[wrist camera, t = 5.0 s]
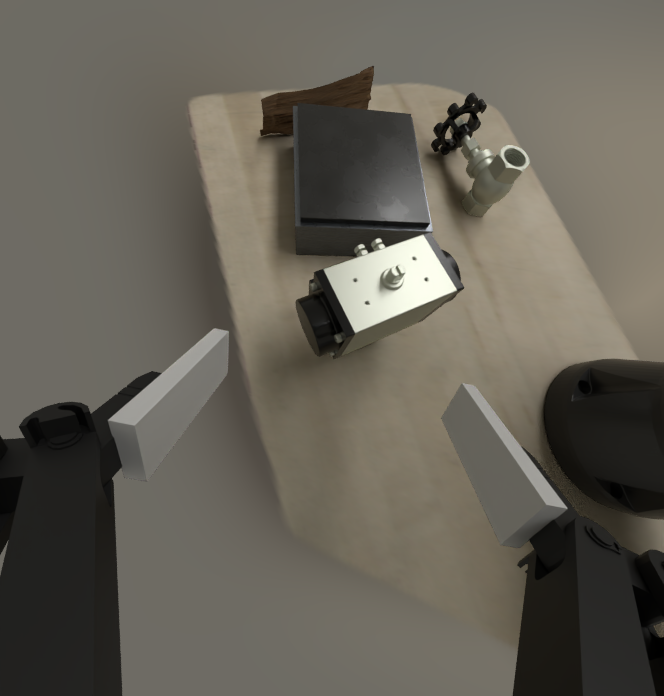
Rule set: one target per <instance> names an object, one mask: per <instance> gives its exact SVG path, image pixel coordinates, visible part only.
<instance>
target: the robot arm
mask: <svg viewBox="0 0 664 696" xmlns="http://www.w3.org/2000/svg"><path fill="white" fill-rule="evenodd" d="M228 342H229V331H224V330H220V329H215V328H214V329H213V330H212V331H211V332H209V333H208V334H207V335H206V336H205V337H204V338H202V339H201V340H200V341H199V342H198V343H197V344H196V345H194V346H193V347H192V348H191V349H190V350H189V351H188V352H186V353H185V354H184V355H183V356H182V357H180V358H179V359H178V360H177V361H176V362H175V363H174V364H172V365H171V366H170V367H169V368H168V369H167V370H165V371H164V372H163V373H158V372H153V371H151V372H149V373H147V374H144V375H142V376H140V377H138V378H136V379H135V380H134V381H133V382H131V383H130V384H129V385H127V387H125V388H124V389H122V390H121V391H120V392H119V393H118V394H117V395H115V396H113V397H112V398H111V399H109V400H108V401H107V402H106V403H104V404H103V405H102V406H101V407H99V408H98V409H97V410H95V411H94V412H93V413H92V414H90V411H89V408H88V406H86V405H84V404H82V403H77V402H65V403H58V404H54V405H50V406H47V407H44V408H42V409H40V410H38V411H35V412H33V413H32V414H31V415H29V416H28V417H26V418H25V419H24V420H23V422H22V423H21V424H20V426H19V428H20V430H21V432H22V434H23V435H24V437H25V438H19V439H2V438H1V436H0V554H1V552H2V551H3V549H4V547H5V545H6V543H7V541H8V540H9V541H8V545H7V550H6V554H5V558H4V563H3V567H2V571H1V575H0V696H122V678H121V653H120V629H119V606H118V582H117V581H118V580H117V557H116V534H115V533H116V532H115V509H114V485H113V484H114V483H113V480H112V477H113V476H114V475H115V474H116V473H117V472H118V471H119V469H120V468H122V471H123V475H124V478H129V479H135V480H140V481H146V482H147V481H148V480H149V479H150V477H151V476H152V475H153V473H154V472H155V471H156V469H157V468H158V467H159V465H160V464H161V462H162V461H163V460H164V458H165V457H166V456H167V454H168V453H169V452H170V450H171V449H172V448H173V446H174V445H175V443H176V442H177V441H178V440H179V438H180V437H181V436H182V434H183V433H184V432H185V430H186V429H187V428H188V426H189V425H190V423H191V422H192V421H193V419H194V418H195V417H196V415H197V414H198V413H199V411H200V410H201V409H202V407H203V406H204V405H205V403H206V402H207V401H208V399H209V398H210V397H211V395H212V394H213V393H214V391H215V390H216V389H217V387H218V386H219V385H220V383H221V382H222V380H223V379H224V378H225V376H226V375H227V374H228V344H229V343H228ZM441 419H442V421H443V423H444V426H445V428H446V430H447V432H448V434H449V436H450V438H451V440H452V443H453V445H454V447H455V449H456V451H457V453H458V455H459V457H460V460H461V462H462V464H463V466H464V468H465V470H466V472H467V474H468V477H469V479H470V481H471V483H472V485H473V487H474V489H475V492H476V494H477V496H478V498H479V500H480V502H481V504H482V506H483V509H484V511H485V513H486V515H487V517H488V519H489V521H490V523H491V526H492V528H493V530H494V532H495V534H496V536H497V538H498V540H499V543H500V545H504V546H510V547H515V548H520V547H521V546H523V545H524V544H525V543H526V542H528V541H529V540H530V542H531V544H532V546H533V547H534V549H535V550H533V551H532V552H531V553H529V554H528V555H527V556H526V557H524V558H523V559H522V560H520V561H519V563H518V566H519V567H520V568H521V567H522V566H524V565H525V564H528V570H526V571H525V572H526V573H527V579H526V588H525V596H524V604H523V613H522V621H521V630H520V638H519V646H518V655H517V663H516V672H515V680H514V689H513V696H664V637H662V638H660V637H659V636H658V634H657V633H656V631H655V629H654V627H653V625H656V624H659V623H661V622H664V553H662V552H660V551H657V550H649V551H647V552H645V553H643V554H641V555H637V554H635V553H633V552H631V551H629V550H627V549H625V548H623V547H621V546H620V545H619V543H618V542H617V541H616V540H615V538H613V537H612V536H611V535H610V534H609V533H608V532H607V531H606V530H605V529H604V528H602V527H601V526H600V525H598V524H597V523H595V522H594V521H592V520H590V519H588V518H585V517H580V516H579V515H578V513H577V512H576V511H575V509H574V508H573V507H572V506H571V504H570V503H569V502H568V500H567V499H566V498H565V497H564V495H563V494H562V493H561V491H560V490H559V489H558V488H557V486H556V485H555V484H554V482H553V481H552V480H550V477H549V476H548V475H547V473H546V472H545V471H543V468H542V467H541V466H540V464H539V463H538V462H537V460H536V459H535V458H534V457H533V456H532V455H531V454H530V453H529V452H527V451H526V450H525V449H524V448H523V447H521V446H520V445H519V444H518V442H517V441H516V440H515V438H514V437H513V436H512V434H511V433H510V432H509V430H508V429H507V428H506V426H505V425H504V424H503V422H502V421H501V420H500V418H499V417H498V416H497V414H496V413H495V412H494V411H493V409H492V408H491V407H490V405H489V404H488V403H487V401H486V400H485V399H484V397H483V396H482V395H481V393H480V392H479V391H478V389H477V388H476V387H475V386H473V385H469V384H464V383H462V384H461V386H460V387H459V389H458V391H457V392H456V394H455V396H454V397H453V399H452V401H451V402H450V404H449V406H448V407H447V409H446V411H445V412H444V414H443V416H442V417H441ZM545 425H546V431H547V435H548V439H549V442H550V445H551V448H552V450H553V452H554V455H555V457H556V459H557V460H558V462H559V464H560V466H561V467H562V469H563V470H564V472H565V473H566V474H567V476H568V477H569V478H570V479H571V481H572V482H573V483H574V484H575V485H576V486H577V487H578V488H579V489H580V490H581V491H583V492H584V493H585V494H586V495H588V496H589V497H590V498H592V499H593V500H595V501H597V502H598V503H600V504H602V505H605V506H607V507H610V508H613V509H616V510H620V511H623V512H626V513H629V514H633V515H636V516H640V517H645V518H651V519H664V362H650V361H638V360H624V359H601V360H595V361H589V362H584V363H579V364H575V365H572V366H570V367H568V368H567V369H565V370H564V371H562V372H561V373H560V374H559V375H558V376H557V377H556V378H555V380H554V381H553V383H552V385H551V387H550V389H549V391H548V394H547V398H546V403H545Z"/></svg>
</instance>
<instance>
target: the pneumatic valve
mask: <svg viewBox="0 0 664 696" xmlns="http://www.w3.org/2000/svg"><path fill="white" fill-rule="evenodd" d="M371 246H372V248H373V249H374V252H371V253H368V252H367V250H366V248H365V246H364V245H363V244H360V245H358V246H357V247H356V248H355V249H354V252H355V253H356V255H357V257H356V258H353V259H351V260H348V261H345V262H342V263H339V264H336V265H333V266H330V267H328V268H325V269H322V270H319V271H316V272H314V279H312V280H309V295H308V296H305V297H302V298H300V299H297V300H296V310H297V313H298V317H299V320H300V323H301V325H302V328H303V330H304V333H305V335H306V337H307V340H308V342H309V344H310V346H311V347H312V349H313V351H314V352H315V354H316V355H317V356H319V357H320V356H323V355H325V354H327V353H329V355H330V356H332V357H333V359H336V358H338V357H341V356H343V355H345V354H347V353H350V352H352V351H355V350H357V349H359V348H362V347H364V346H366V345H368V344H371V343H373V342H375V341H378V340H380V339H382V338H384V337H386V336H389V335H391V334H393V333H396V332H398V331H400V330H402V329H405V328H407V327H409V326H412V325H414V324H416V323H419V322H421V321H423V320H424V319H425V318H427V317H428V316H429V315H430V314H432V313H433V312H434V311H436V310H437V309H438V308H439V307H441V306H442V305H443V304H445V303H447V302H449V301H451V300H452V299H454V298H455V296H456V295H457V294H458V293H459V292H460V291H461V290H463V289H464V286H463V284H462V283H461V277H460V271H459V268H458V265H457V263H456V262H455V260H454V258H453V257H452V256H451V255H450V254H449V253H447V252H446V251H444V250H441V249H440V247H439V245H438V244H437V242H436V241H435V239H434V237H433V236H432V234H431V232H428V233H425V234H423V235H420V236H417V237H414V238H411V239H408V240H405V241H402V242H400V243H397V244H394V245H391V246H388V247H385V246H384V244H383V242H382V240H381V239H380V238H378V239H376V240H374V241H373V242H372V243H371Z"/></svg>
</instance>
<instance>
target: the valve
mask: <svg viewBox="0 0 664 696" xmlns="http://www.w3.org/2000/svg"><path fill="white" fill-rule="evenodd" d="M473 104H475V105H474V106H472V105H473ZM486 107H487V105H486V104H485V102H484V101H483V99H480V100H479V101H478V98H477V97H476V95H475V94H474V93H471V94H469V95H468V96H467V98H466V99H465V103H464V105H463V106H462V107H460V108H459V107H458V105H457V104H456V103H453V104H452V105H451V106H450V107H449V108H448V111H447V113H448V115H449V117H448V118H447V120H446V121H445V122H444V123H438V124H437V125H436V126H435V127H434V130H433V131H434V133H435V135H436V137H438V138H437V139H435V140H434V141H433V142H432V144H431V147H432V148H433V150H434V152H437V151H439V148H438V147H439V146H440V145H441V144H442V146H441V148H440V151H441V153H442V154H443V155H447V154H448V153H449V152H450V151H452V150H456V149H457V148H458V147H459V148H460V147H462V146H463V147H462V149H461V152H462V153H463V155H464V157H465V158H466V159H467V160H468V161H469V162H468V163H469V164H468V165H467V168H466V172H467V174H468V175H469V177H470V178H474V179H475V180H474V183H473V186H472V189H471V190H470V191H469V193H468V194H467V195H466V197H465V198H464V199H463V201H462V202H461V203H462V205H463V207H464V208H465V210H466V212H467V213H468V214H470V215H474V216H478V217H482V216H483V215H484V214H485V213H486V212H487V211H488V209H489V208H490V207H491V206H492V205H493V204H494V203H496V202H498V201H500V200H501V199H502V198H504V197H505V196H506V195H507V193H508V192H509V191H510V189H511V187H512V186H513V183H514V181H515V180H516V179H517V178H518V176H519V175H520V174H521V173H522V172H523V171H524V170H525V168H526V167H527V166H528V165H529V163H530V160H529V158H528V156H527V154H526V153H525V152H524V151H523V150H522V149H520V148H519V147H516V146H512V145H505V146H504V147H503V148H502V149H501V150H500V152H499V153H498V154H497V155H496V157H495V156H494V154H493V152H492V151H491V150H490V149H486V150H483V151H482V150H480V149H481V147H480V145H479V144H478V142H477V141H476V139H475V138H472V139H471V137H472V134H473V131H476V130H477V129H478V128H479V127H480V125H481V122H480V120H479V119H478V117H477V115H476V114H477V113H478V112H479V111H480V112H481V113H483V112H484V111H485V109H486ZM465 113H470V117H469V120H468V122H464V121H463V120H462V118H460V119H458V120H456V121H454V120H455V119H456V118H458V117H459V116H460V115H462V114H465ZM449 126H451V128H450V132H451V134H452V138H451V139H445V134H446V131H447V129H448V128H449ZM453 144H454V145H453Z"/></svg>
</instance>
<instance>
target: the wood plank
mask: <svg viewBox="0 0 664 696" xmlns="http://www.w3.org/2000/svg"><path fill="white" fill-rule="evenodd" d="M373 76H374V66H372V67H369V68H367V69H365V70H363V71H361V72H360V73H359V74H356V75H354V76H350V77H347V78H345V79H342V80H339V81H337V82H334V83H331V84H328V85H325V86H321V87H317V88H314V89H308V90H302V91H295V92H284V93H277V94H274V95H271V96H269V97H266V98H263V99H262V100H261V102H262V109H263V129H262V130H260V133H261V136H263V135H267V134H270V133H272V134H277V133H281V134H294V133H293V106H297V103H304V104H315V105H325V106H335V107H345V108H355V109H365V110H367V109H368V103H369V100H371V96H370V92H371V86H372V81H373Z"/></svg>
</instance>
